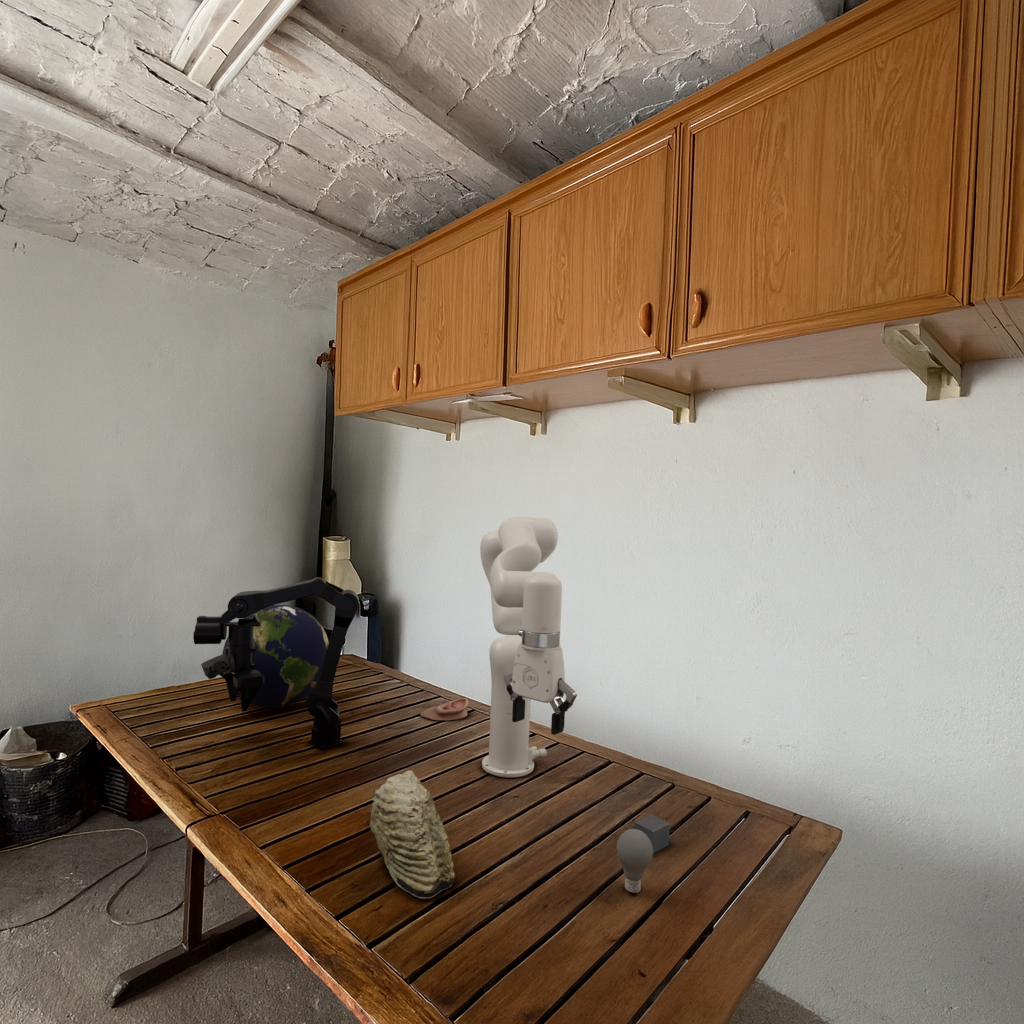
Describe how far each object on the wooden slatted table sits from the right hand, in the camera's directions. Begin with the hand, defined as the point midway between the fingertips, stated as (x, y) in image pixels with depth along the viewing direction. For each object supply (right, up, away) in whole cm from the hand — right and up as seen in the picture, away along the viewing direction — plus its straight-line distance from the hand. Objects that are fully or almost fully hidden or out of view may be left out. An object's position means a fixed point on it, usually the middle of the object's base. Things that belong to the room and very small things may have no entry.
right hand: (537, 726), depth 124 cm
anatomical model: (-25, -18, +63) cm, 70 cm away
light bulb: (+15, -21, -19) cm, 32 cm away
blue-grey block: (+22, -21, -3) cm, 31 cm away
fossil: (-23, -20, -15) cm, 34 cm away
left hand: (-73, -6, +33) cm, 80 cm away
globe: (-75, -16, +64) cm, 100 cm away
